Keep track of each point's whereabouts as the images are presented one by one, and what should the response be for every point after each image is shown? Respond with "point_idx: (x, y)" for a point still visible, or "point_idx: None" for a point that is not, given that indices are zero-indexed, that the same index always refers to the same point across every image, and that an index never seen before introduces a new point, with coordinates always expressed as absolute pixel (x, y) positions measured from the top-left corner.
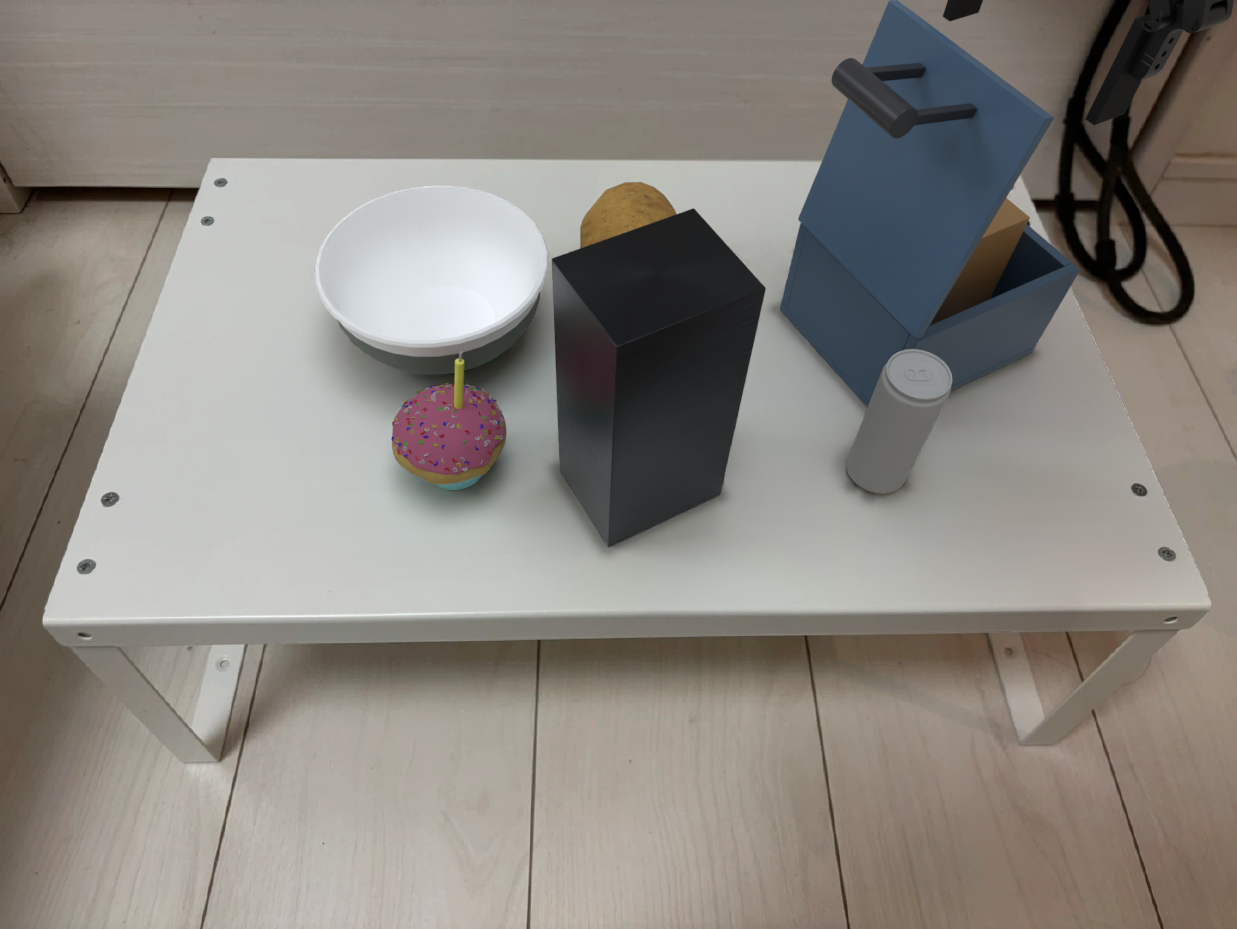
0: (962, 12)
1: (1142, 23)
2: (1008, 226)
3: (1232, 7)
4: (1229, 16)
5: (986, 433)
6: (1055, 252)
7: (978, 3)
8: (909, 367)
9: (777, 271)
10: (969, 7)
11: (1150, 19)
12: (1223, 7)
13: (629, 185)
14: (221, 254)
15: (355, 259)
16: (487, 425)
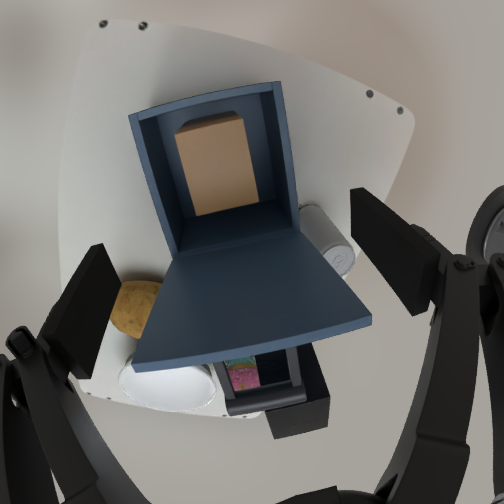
0: (113, 274)
1: (430, 325)
2: (247, 143)
3: None
4: None
5: (309, 147)
6: (256, 88)
7: (100, 255)
8: (330, 264)
9: (147, 213)
10: (107, 267)
11: (425, 298)
12: None
13: (117, 323)
14: (125, 398)
15: (148, 391)
16: (252, 376)
